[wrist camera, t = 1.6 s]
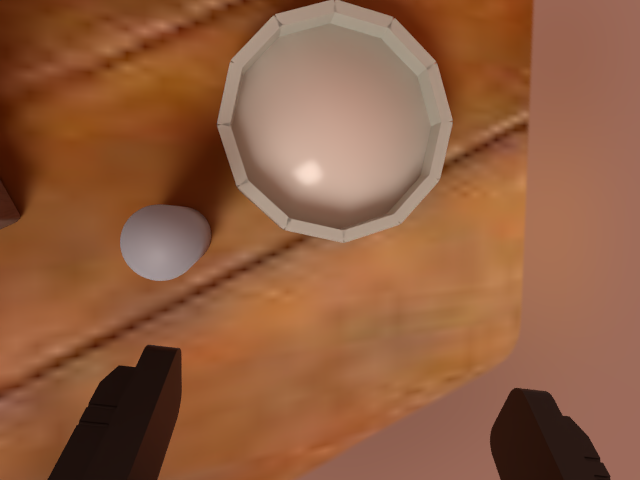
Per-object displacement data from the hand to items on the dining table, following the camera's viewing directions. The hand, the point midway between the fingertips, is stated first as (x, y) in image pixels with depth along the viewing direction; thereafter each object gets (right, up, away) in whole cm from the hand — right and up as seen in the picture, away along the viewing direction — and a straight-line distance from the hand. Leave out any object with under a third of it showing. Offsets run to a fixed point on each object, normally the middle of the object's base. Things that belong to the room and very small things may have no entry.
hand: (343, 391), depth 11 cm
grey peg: (-11, +4, +24) cm, 27 cm away
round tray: (0, +12, +26) cm, 29 cm away
